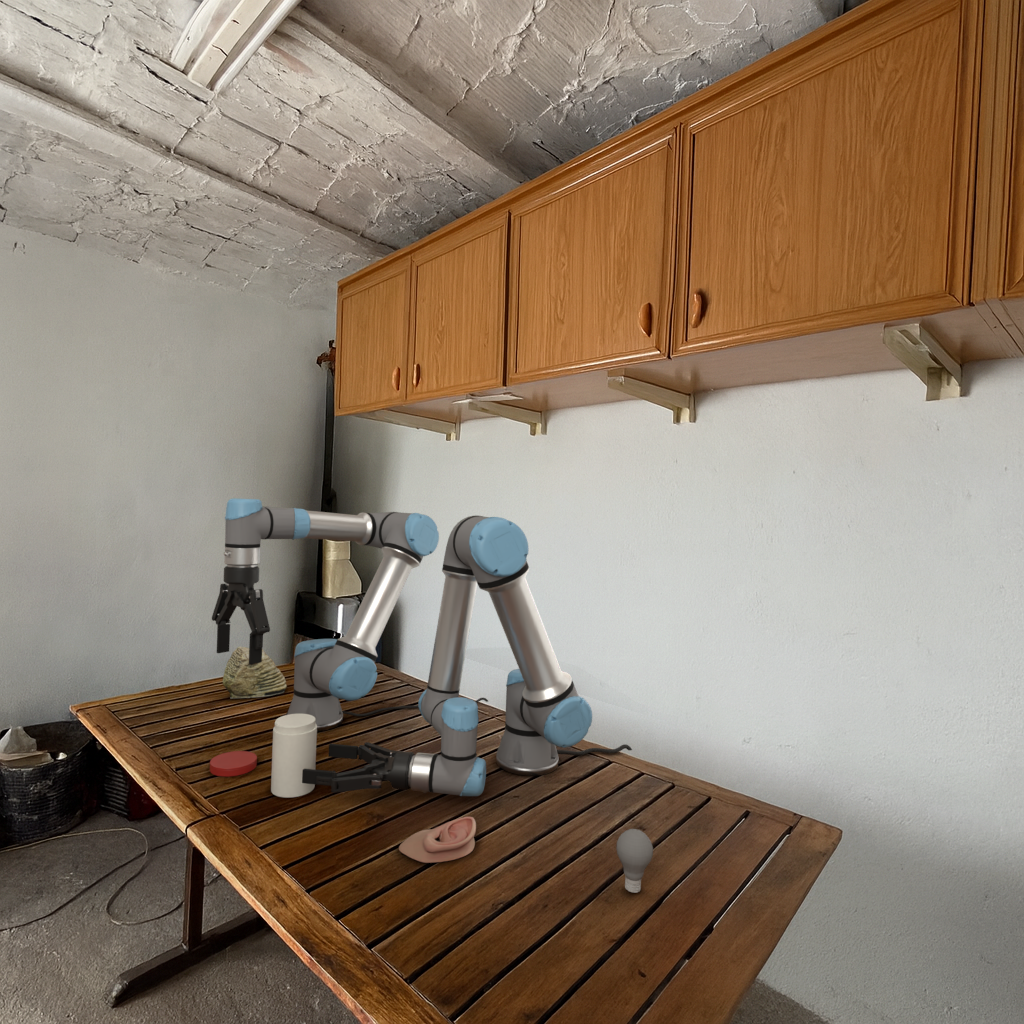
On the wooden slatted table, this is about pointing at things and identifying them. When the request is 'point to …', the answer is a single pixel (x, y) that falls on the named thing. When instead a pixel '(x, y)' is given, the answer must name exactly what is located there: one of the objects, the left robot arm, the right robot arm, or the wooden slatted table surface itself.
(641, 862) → the light bulb
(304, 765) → the jar
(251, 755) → the lid
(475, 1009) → the wooden slatted table surface
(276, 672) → the fossil
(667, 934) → the wooden slatted table surface
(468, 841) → the anatomical model
